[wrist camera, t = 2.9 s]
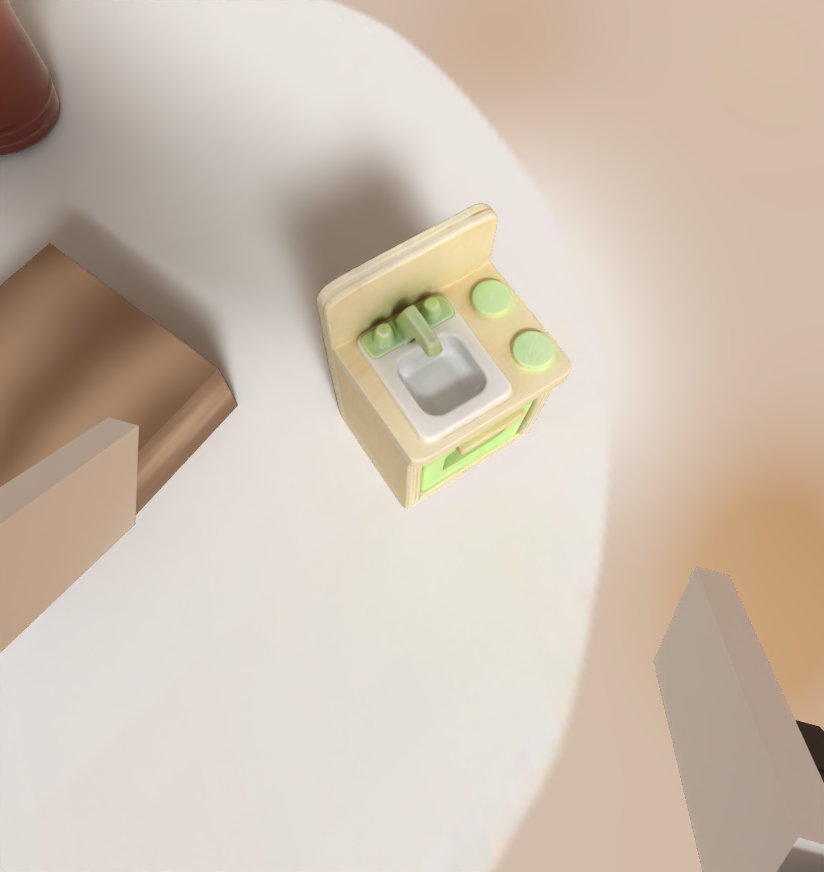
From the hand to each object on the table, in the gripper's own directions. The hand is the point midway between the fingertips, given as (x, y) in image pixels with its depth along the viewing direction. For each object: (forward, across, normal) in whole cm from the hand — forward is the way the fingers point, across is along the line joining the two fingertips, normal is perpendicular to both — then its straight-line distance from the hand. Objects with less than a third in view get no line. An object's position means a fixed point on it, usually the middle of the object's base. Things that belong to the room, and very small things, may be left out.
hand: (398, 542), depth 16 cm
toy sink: (+22, -1, -6) cm, 23 cm away
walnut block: (+19, -20, -10) cm, 29 cm away
